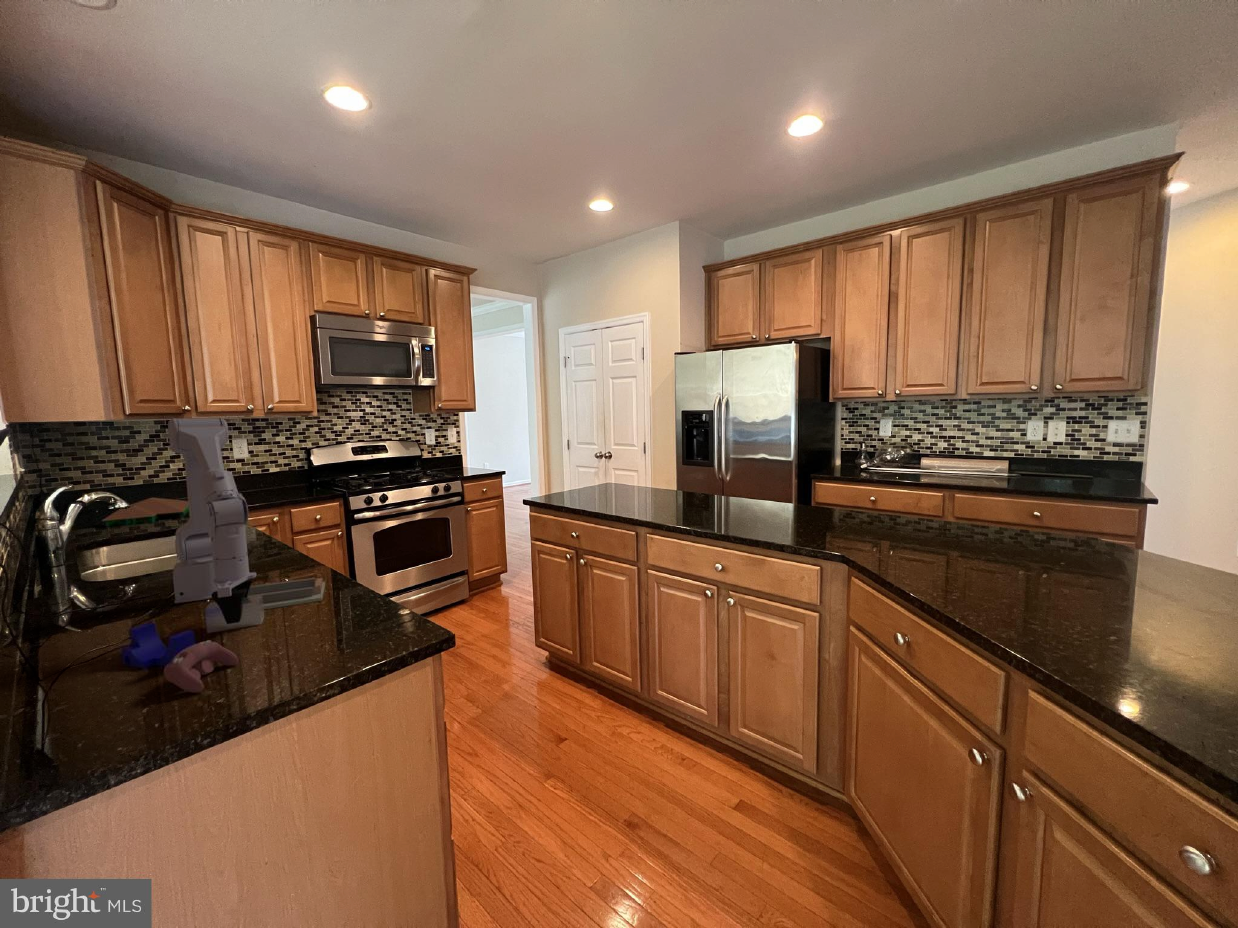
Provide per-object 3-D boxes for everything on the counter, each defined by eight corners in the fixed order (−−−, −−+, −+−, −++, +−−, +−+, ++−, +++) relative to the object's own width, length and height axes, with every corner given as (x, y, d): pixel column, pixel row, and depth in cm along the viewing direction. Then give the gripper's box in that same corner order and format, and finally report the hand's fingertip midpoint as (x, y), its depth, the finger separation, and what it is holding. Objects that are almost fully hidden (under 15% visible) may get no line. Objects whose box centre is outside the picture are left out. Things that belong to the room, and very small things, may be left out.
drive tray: (227, 615, 109) (226, 602, 108) (239, 596, 119) (238, 585, 119) (321, 600, 117) (320, 589, 117) (325, 584, 128) (324, 574, 127)
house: (194, 507, 227) (192, 490, 226) (182, 521, 200) (180, 501, 199) (125, 513, 214) (123, 495, 213) (102, 529, 187) (100, 508, 186)
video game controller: (220, 672, 88) (197, 639, 87) (243, 660, 89) (221, 627, 88) (176, 705, 79) (150, 669, 78) (202, 691, 79) (177, 655, 78)
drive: (207, 633, 100) (204, 609, 100) (212, 625, 104) (210, 602, 103) (261, 624, 104) (259, 601, 104) (264, 617, 108) (262, 595, 107)
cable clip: (122, 664, 88) (119, 632, 88) (152, 652, 93) (149, 622, 92) (167, 675, 85) (164, 642, 84) (196, 662, 89) (193, 631, 88)
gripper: (246, 562, 98) (252, 628, 99) (260, 544, 110) (265, 602, 112) (201, 568, 94) (208, 635, 96) (221, 548, 107) (226, 608, 109)
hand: (236, 618), depth 104 cm, fingers closed on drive, 4 cm apart
